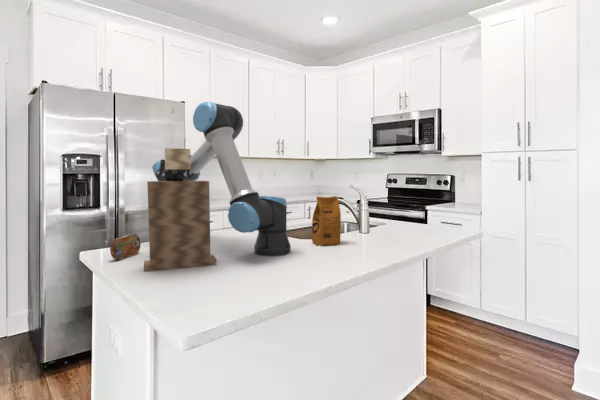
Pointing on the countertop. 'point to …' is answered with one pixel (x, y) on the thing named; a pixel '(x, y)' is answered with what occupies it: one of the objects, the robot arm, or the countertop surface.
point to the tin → (125, 247)
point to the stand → (178, 225)
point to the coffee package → (326, 221)
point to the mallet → (177, 158)
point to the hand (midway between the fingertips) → (175, 152)
